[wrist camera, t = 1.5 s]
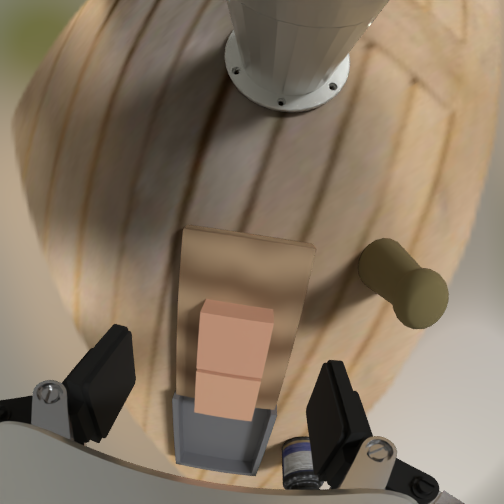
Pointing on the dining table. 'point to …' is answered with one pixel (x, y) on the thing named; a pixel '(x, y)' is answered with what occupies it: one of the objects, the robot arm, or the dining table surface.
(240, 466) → the tray
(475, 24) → the dining table surface
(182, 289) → the board
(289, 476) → the pill bottle
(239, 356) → the tile front
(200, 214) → the dining table surface
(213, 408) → the tile rear
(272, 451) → the dining table surface
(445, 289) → the cork
